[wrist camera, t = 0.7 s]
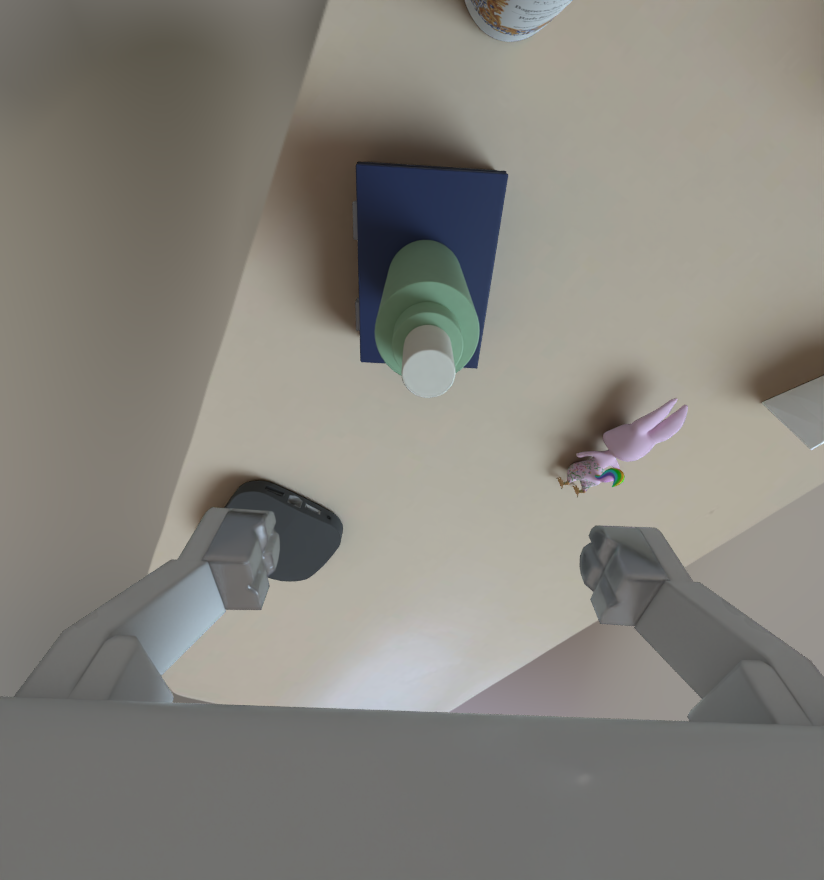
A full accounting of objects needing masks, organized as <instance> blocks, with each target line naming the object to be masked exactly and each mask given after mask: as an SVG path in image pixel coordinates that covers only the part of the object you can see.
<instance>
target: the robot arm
mask: <svg viewBox="0 0 824 880" xmlns="http://www.w3.org/2000/svg"><path fill="white" fill-rule="evenodd" d="M275 523H276V519H275V515H274V512H272V511H262V510H248V509H234V508H232V509H228V508H214V507H212V508H210V509H209V510H208V511H207V512H206V513H205V515H204V516H203V518H202V520H201V521H200V523H199V525H198V526H197V528H196V530H195V531H194V533H193V535H192V536H191V538H190V540H189V541H188V543H187V545H186V546H185V548H184V550H183V551H182V553H181V555H180V556H179V558H178V560H170V561H168V562H167V563H165V564H164V565H162V566H161V567H159V568H158V569H156V570H155V571H153V572H152V573H150V574H149V575H147V576H145V577H144V578H143V579H141V580H139V581H138V582H137V583H135V584H133V585H132V586H130V587H129V588H127V589H126V590H125V591H123V592H121V593H120V594H118V595H117V596H115V597H114V598H112V599H111V600H109V601H108V602H106V603H105V604H103V605H102V606H100V607H99V608H97V609H96V610H94V611H93V612H91V613H90V614H88V615H86V616H85V617H83V618H82V619H81V620H79V621H78V622H76V623H74V624H73V625H71V626H70V627H68V628H67V629H65V630H64V631H63V632H62V633H61V634H60V636H59V637H58V639H57V640H56V641H55V642H54V644H53V645H52V647H51V648H50V649H49V650H48V652H47V653H46V655H45V656H44V657H43V658H42V660H41V661H40V663H39V664H38V665H37V667H36V668H35V669H34V670H33V672H32V673H31V674H30V676H29V677H28V678H27V680H26V681H25V683H24V684H23V685H22V686H21V688H20V689H19V690H18V692H17V693H16V694H15V696H14V697H3V696H0V880H824V677H823V676H822V674H821V673H820V672H819V670H818V669H817V668H816V667H815V665H814V664H813V663H812V662H811V661H810V660H809V659H808V658H806V657H805V656H803V655H802V654H800V653H799V652H798V651H796V650H795V649H793V648H792V647H791V646H789V645H788V644H786V643H785V642H784V641H782V640H781V639H779V638H778V637H776V636H775V635H773V634H772V633H771V632H769V631H768V630H767V629H765V628H764V627H762V626H761V625H759V624H758V623H757V622H755V621H754V620H752V619H751V618H749V617H748V616H747V615H745V614H744V613H742V612H741V611H740V610H738V609H737V608H735V607H734V606H733V605H731V604H730V603H728V602H727V601H726V600H724V599H723V598H721V597H720V596H718V595H717V594H716V593H714V592H713V591H711V590H710V589H709V588H707V587H706V586H704V585H703V584H701V583H700V582H693V580H692V579H691V577H690V576H689V574H688V573H687V571H686V570H685V568H684V567H683V565H682V563H681V562H680V560H679V559H678V557H677V556H676V554H675V553H674V551H673V550H672V548H671V547H670V545H669V544H668V542H667V540H666V539H665V537H664V536H663V534H662V533H661V532H660V531H659V530H658V529H657V528H651V527H625V526H595V527H593V528H592V529H591V531H590V534H589V538H590V540H591V543H589V544H588V545H586V546H585V547H583V550H582V552H581V555H580V572H581V576H582V579H583V581H584V584H585V585H586V586H587V587H589V588H590V589H591V590H592V591H593V594H592V597H591V599H590V600H591V602H592V605H593V607H594V610H595V612H596V615H597V617H598V620H599V622H600V624H611V625H625V626H635V627H634V628H635V629H636V630H637V631H638V632H639V633H640V635H642V637H643V638H644V639H645V640H646V641H647V642H648V643H649V644H650V645H651V646H652V647H653V648H654V649H655V650H656V651H657V652H658V653H659V654H660V656H661V657H662V658H663V659H664V660H665V661H666V662H667V663H668V664H669V665H670V666H671V667H672V668H673V669H674V670H675V671H676V672H677V673H678V674H679V675H680V676H681V677H682V679H683V680H684V681H685V682H686V683H687V684H688V685H689V686H690V687H691V688H692V689H693V690H694V691H695V692H696V693H697V694H698V695H699V696H700V697H701V698H702V700H701V701H700V702H699V703H698V704H697V705H696V706H695V707H694V708H693V709H692V710H691V711H690V712H689V714H688V716H687V717H688V719H689V721H665V720H637V719H610V718H583V717H557V716H556V717H555V716H529V715H502V714H500V715H499V714H475V713H448V712H420V711H392V710H365V709H337V708H309V707H281V706H254V705H226V704H197V703H172V702H173V699H174V697H173V694H172V692H171V690H170V689H169V687H168V686H167V684H166V683H165V681H164V679H163V678H162V676H161V675H162V674H163V673H164V672H165V671H166V670H167V669H168V668H169V667H170V666H171V665H172V664H173V663H174V662H175V661H176V660H177V659H178V658H179V657H180V656H182V655H183V654H184V653H185V652H186V651H187V650H188V649H189V648H190V647H191V646H192V645H193V644H194V643H195V642H196V641H197V640H198V639H199V638H200V637H201V636H202V635H203V634H204V633H205V632H206V631H207V630H208V629H209V628H210V627H211V626H212V625H213V624H214V623H215V622H216V621H217V620H218V619H219V618H220V617H221V616H222V615H223V614H224V613H225V612H226V610H261V609H262V606H263V603H264V601H265V598H266V595H267V592H268V589H269V581H268V576H269V575H270V574H271V573H273V572H274V571H275V569H276V566H277V563H278V558H279V552H280V539H279V534H278V533H277V532H276V531H275V530H274V526H275Z"/></svg>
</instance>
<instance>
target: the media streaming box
mask: <svg viewBox="0 0 824 880" xmlns="http://www.w3.org/2000/svg"><path fill="white" fill-rule="evenodd" d="M225 508H228V509H232V508H234V509H248V510H262V511H272V512H274V515H275V519H276V523H275V526H274V530H275V531H276V532H277V533H278V534H279V539H280V552H279V558H278V563H277V566H276V569H275V571H274V572H273V573H271V574H270V575H269V576H268V578H271V579H275V580H279V581H301V580H305V579H308V578H309V577H311V576H312V575H313V574H315V573H316V572H317V571H318V570H319V569H320V568H321V567H322V566H323V565H324V564H325V563H326V562H327V561H328V560H329V559H330V558H331V556H332V555H333V554H334V553H335V551H336V550H337V549H338V547H339V545H340V542H341V537H342V532H343V525H342V523H341V521H340V519H339V518H338V517H337V516H336V515H335V514H334V513H332V512H330V511H328V510H327V509H325V508H323V507H321V506H319V505H317V504H315V503H313V502H311V501H309V500H307V499H305V498H303V497H301V496H299V495H297V494H295V493H293V492H291V491H288V490H286V489H284V488H282V487H279V486H277V485H275V484H273V483H270V482H265V481H252V482H248V483H245V484H243V485H241V486H240V487H239V488H238V489H237V491H236V492H235V493H234V495H233V496H232V497H231V499H230V500H229V502H228V503H227V505H226V506H225Z"/></svg>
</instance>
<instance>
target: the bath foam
mask: <svg viewBox="0 0 824 880" xmlns="http://www.w3.org/2000/svg"><path fill="white" fill-rule="evenodd" d="M571 1H573V0H465V3H466V6H467V8H468V11H469V13H470V15H471V16H472V18H473V20H474V21H475V23H476V24H477V25H478V26H479V28H480V29H481V30H482V31H484V32H485V33H486V34H487V35H489V36H491V37H492V38H495V39H497V40H500V41H506V42H513V41H519V40H523V39H526V38H528V37H530V36H532V35H534V34H535V33H537V32H538V31H540V30H541V29H542V28H543V27H545V26H546V25H547V24H548V23H549V22H550V21H551V20H552V19H554V18H555V17H556V16H557V15H558V14H559V13H560V12H561V11H562V10H563V9H564V8H565V7H566V6H567V5H568V4H569V3H570V2H571Z"/></svg>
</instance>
